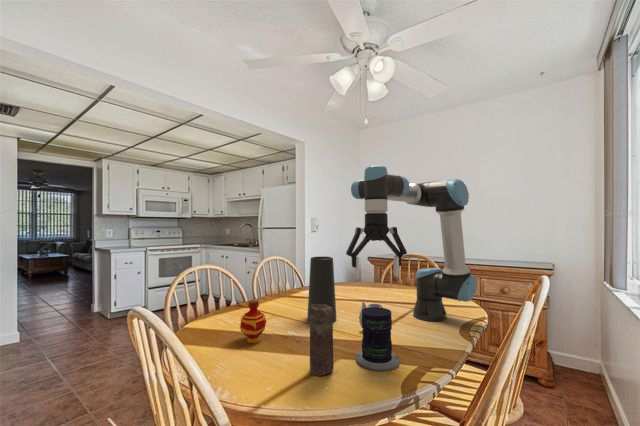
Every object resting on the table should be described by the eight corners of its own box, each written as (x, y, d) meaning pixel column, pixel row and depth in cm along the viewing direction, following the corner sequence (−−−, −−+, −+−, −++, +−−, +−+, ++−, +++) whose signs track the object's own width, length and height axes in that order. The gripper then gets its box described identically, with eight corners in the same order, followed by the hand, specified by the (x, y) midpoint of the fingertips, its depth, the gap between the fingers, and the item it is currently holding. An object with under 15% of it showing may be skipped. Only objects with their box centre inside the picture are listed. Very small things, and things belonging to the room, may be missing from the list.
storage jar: (386, 366, 94) (385, 317, 95) (356, 359, 99) (356, 312, 100) (396, 354, 103) (395, 309, 103) (368, 348, 108) (368, 305, 108)
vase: (302, 322, 140) (302, 258, 141) (314, 313, 153) (314, 255, 154) (330, 325, 135) (330, 260, 136) (340, 316, 148) (340, 256, 149)
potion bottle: (271, 336, 122) (271, 299, 123) (258, 346, 113) (258, 305, 113) (248, 333, 126) (248, 297, 126) (233, 343, 116) (234, 303, 116)
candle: (309, 365, 98) (309, 302, 99) (331, 364, 99) (331, 301, 99) (310, 377, 90) (310, 309, 91) (335, 376, 91) (334, 308, 92)
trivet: (389, 350, 109) (389, 347, 109) (406, 369, 95) (406, 365, 95) (351, 353, 107) (351, 349, 107) (362, 372, 93) (362, 368, 93)
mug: (388, 330, 130) (387, 301, 130) (364, 334, 125) (364, 304, 125) (377, 324, 137) (377, 297, 137) (354, 328, 132) (354, 300, 132)
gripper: (406, 212, 108) (407, 273, 107) (337, 213, 105) (337, 275, 104) (416, 212, 100) (417, 277, 100) (341, 212, 97) (342, 279, 97)
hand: (376, 276), depth 102 cm, fingers open, 13 cm apart
